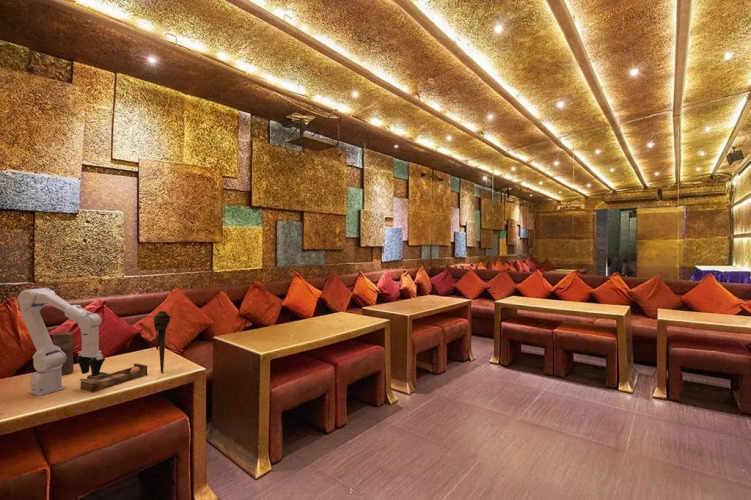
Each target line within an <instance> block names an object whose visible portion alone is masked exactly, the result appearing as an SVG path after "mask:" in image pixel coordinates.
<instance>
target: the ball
mask: <svg viewBox="0 0 751 500" xmlns="http://www.w3.org/2000/svg"><path fill="white" fill-rule="evenodd" d="M132 367H133V368H132V369H131V370H130V373H133V372H137V371H140V368H139V367H134V366H132Z"/></svg>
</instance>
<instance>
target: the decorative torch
mask: <svg viewBox="0 0 751 500" xmlns="http://www.w3.org/2000/svg"><path fill="white" fill-rule="evenodd" d="M170 321H171V315H169V314H168V313H167V311H165V310H161V311H158V312H157V313H156V315H154V317H153V323H154V324H153V327H154V329H155V333H156V334H155V335H156V336H155V339H154V345H155V348H156V350H157V351H158V352H159V363H160V364H159V365H160V373H162V374H163V373H164V365H165V363H164V362H165V352H166V351H165V350H166V334H167V333H166V331H167V328H168V326H169V324H170Z"/></svg>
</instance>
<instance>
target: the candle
mask: <svg viewBox="0 0 751 500" xmlns="http://www.w3.org/2000/svg"><path fill="white" fill-rule="evenodd" d="M52 339H53V340H52V342H53V345H55V346H58V347H60V349H61V350H62V352H64V353H65V355H66V361H65V363H64V364H63V366H62V367H61V368H62V376H64V375H68V374H70V373H72V372H74V368H75V367H74V366H75V365H74V348H73V347H74V344H73V340H74V339H73V332H72V331H70V332H59V333H53V334H52Z"/></svg>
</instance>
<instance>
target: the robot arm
mask: <svg viewBox="0 0 751 500" xmlns="http://www.w3.org/2000/svg"><path fill="white" fill-rule="evenodd" d="M16 300H17V302H18V304H19V309H20V311H19V312H20V315H21V318H22V319H23V322H24V324H25V327H26V329H27V331H28V333H29V337H30V338H31V341H32V342H33V345H34V348H35V349H36V351H35V353H34V354H33V355H32V360H33V368H34V370H36V372H35V373H32V374H30V378H29V379H30V381H29V382H30V383H29V384H30V391H29V394H31V395H34V396H43V395H47V394H51V393H54V392H57V391H60V390H64V389H67V386H64V385H63V384H62V382H63V381H62V378H63V375H62V368H61V367H62V366H63V364H64V363H65V361H66V355H65V353H64V352H62V350H61V349H60V347H58V346H55V345H53V340H52V338H51V336H50V334H49V331H48V329H47V327H46V325H45V322H44V319H43V317H42V315H41V312H40V311H41V309H43V308H44V307H45V306H46V305H47V304H48V305H50V306H51V307H54V308H56V309H58V310H60V311H62V312H64V316H65V317H67V318H68V319H69V320H71V321H73V322H75V323H77V326H78V328H79V329H80V333H81V350H80V351H78V357H76V358H75V361H76V362H77V363H78V365H79V368H80V371H81V374H82V375H85V374H89V372H91V375H92V376H97V375H99V372H101V368H102V365H103V364H104V362H105V360H106V358H105V357H104V356H103V354H102V353H103V351H102V350H99V349H100V347H99V346H100V342H99V341H100V339H99V336H100V334H99V333H100V332H99V331H100V330H99V329H100V328H99V326H101V324H102V323H103V319H102V316H101V315H100V314H99V313H92V312H91V311H88V310H87V309H84V308H83V307H82V306H81V304H73V305H71V304H70V303H69V302H67V301H66V300H65V299H64V298H61V297H60V296H59V295H57V294H56V293H55V291H54V290H52V289H50V288H48V287H42V288H33V289H24V290H22V291H21V292H20V293H19V295H18V296H17V299H16Z"/></svg>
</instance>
